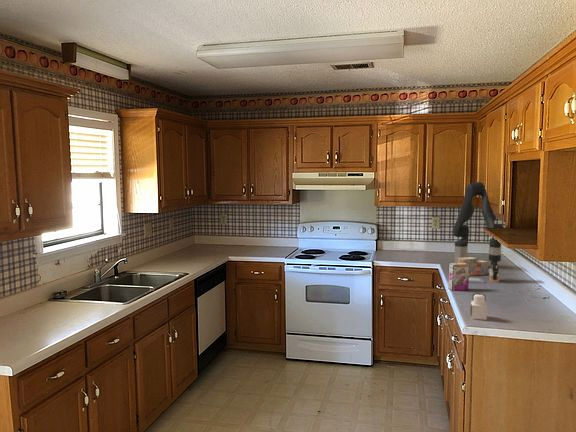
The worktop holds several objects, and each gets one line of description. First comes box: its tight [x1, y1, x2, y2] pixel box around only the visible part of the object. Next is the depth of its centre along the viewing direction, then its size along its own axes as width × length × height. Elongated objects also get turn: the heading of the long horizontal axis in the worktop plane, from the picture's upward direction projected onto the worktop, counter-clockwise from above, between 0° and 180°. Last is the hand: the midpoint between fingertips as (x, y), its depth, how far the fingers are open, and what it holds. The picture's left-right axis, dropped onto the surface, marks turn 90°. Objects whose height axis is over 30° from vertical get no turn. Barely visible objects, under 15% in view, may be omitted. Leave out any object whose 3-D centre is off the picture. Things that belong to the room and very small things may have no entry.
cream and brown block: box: [488, 268, 500, 283], centre depth 319 cm, size 5×5×8 cm
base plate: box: [468, 276, 486, 284], centre depth 320 cm, size 12×12×1 cm
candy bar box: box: [448, 262, 470, 292], centre depth 296 cm, size 11×5×16 cm, turn 100°
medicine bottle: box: [469, 292, 488, 321], centre depth 240 cm, size 7×7×12 cm
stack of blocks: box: [457, 256, 489, 277], centre depth 340 cm, size 21×6×12 cm, turn 106°
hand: (493, 278), depth 319 cm, fingers closed on cream and brown block, 5 cm apart
